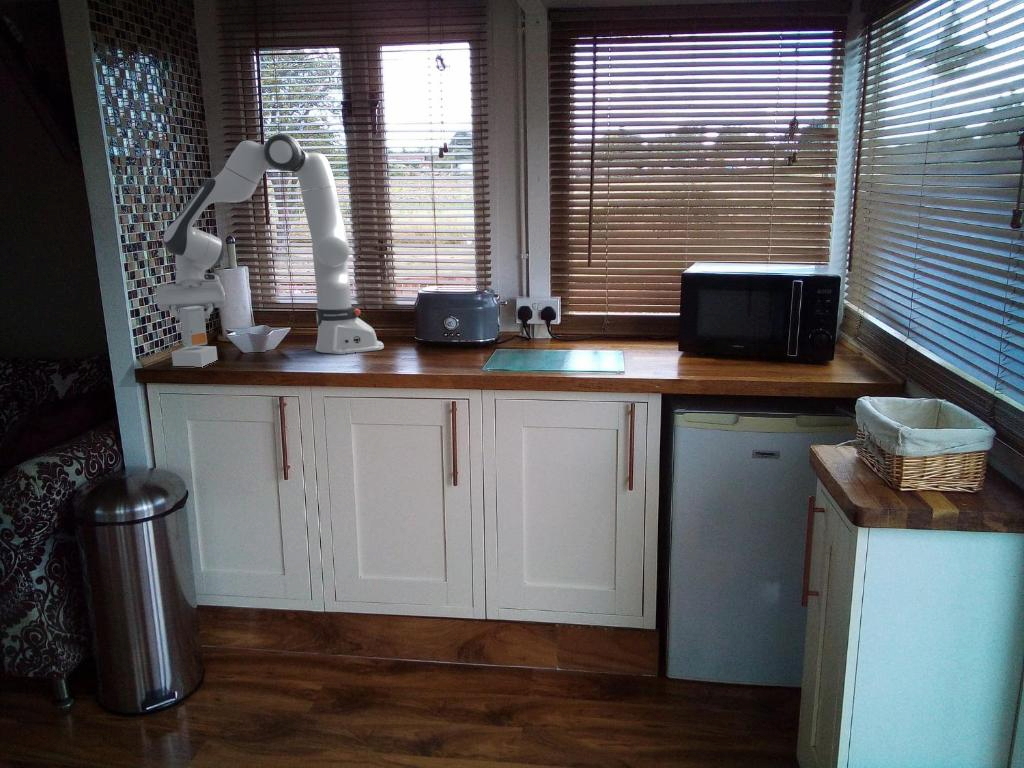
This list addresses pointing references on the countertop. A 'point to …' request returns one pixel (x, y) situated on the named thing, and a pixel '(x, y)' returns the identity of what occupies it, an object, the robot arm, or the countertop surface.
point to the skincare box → (193, 326)
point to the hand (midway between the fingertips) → (192, 318)
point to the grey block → (194, 356)
